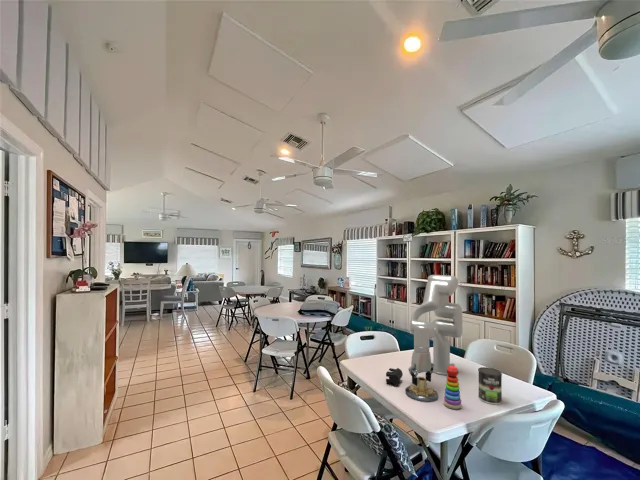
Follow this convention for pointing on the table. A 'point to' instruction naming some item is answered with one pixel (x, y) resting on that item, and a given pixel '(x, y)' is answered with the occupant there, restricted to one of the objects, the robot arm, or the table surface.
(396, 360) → the table surface
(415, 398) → the plate
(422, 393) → the tan faceted octagonal piece
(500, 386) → the coffee can
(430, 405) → the table surface
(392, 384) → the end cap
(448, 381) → the stacking toy
